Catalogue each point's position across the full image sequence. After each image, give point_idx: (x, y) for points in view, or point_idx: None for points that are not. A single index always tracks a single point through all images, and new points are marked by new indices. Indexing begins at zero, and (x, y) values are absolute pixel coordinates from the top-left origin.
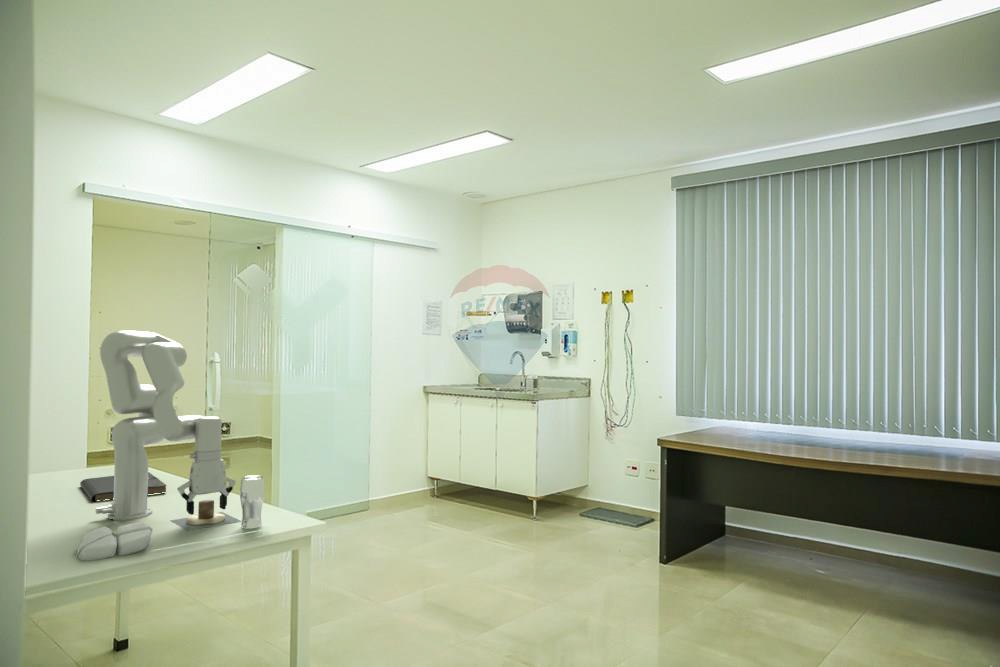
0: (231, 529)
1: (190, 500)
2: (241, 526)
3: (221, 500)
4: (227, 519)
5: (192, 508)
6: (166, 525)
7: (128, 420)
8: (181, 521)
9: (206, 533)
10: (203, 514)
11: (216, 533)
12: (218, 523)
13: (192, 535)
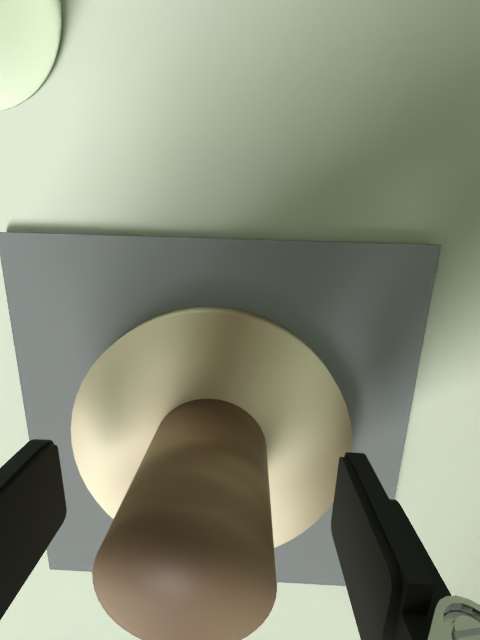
0: (140, 65)
1: (458, 621)
2: (49, 2)
3: (5, 554)
4: (76, 367)
5: (378, 495)
6: (432, 518)
7: None
8: None
9: (352, 90)
10: (246, 437)
11: (291, 18)
12: (169, 300)
13: (463, 111)
